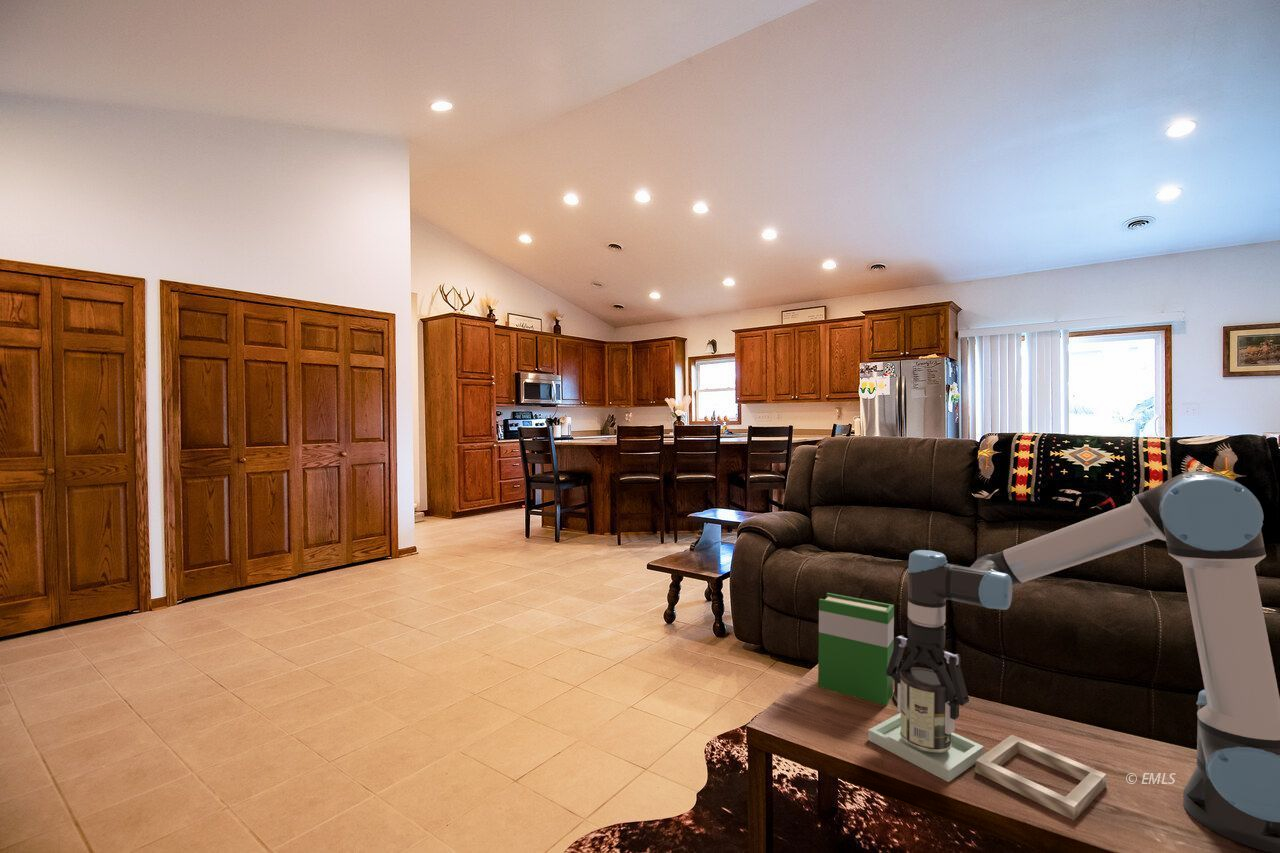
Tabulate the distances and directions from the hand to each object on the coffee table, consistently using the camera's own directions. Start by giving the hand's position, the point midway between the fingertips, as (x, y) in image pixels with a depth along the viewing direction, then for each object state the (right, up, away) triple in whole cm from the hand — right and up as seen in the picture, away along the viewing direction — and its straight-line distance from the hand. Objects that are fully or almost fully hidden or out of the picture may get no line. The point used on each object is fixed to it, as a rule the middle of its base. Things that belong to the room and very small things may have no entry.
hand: (925, 720), depth 125 cm
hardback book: (-5, -6, +27) cm, 28 cm away
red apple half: (+6, -7, +21) cm, 23 cm away
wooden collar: (+18, -7, -10) cm, 22 cm away
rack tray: (0, -6, 0) cm, 6 cm away
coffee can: (0, -4, 0) cm, 4 cm away
